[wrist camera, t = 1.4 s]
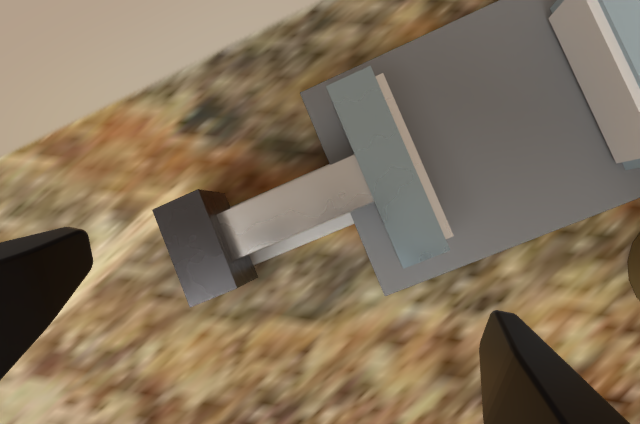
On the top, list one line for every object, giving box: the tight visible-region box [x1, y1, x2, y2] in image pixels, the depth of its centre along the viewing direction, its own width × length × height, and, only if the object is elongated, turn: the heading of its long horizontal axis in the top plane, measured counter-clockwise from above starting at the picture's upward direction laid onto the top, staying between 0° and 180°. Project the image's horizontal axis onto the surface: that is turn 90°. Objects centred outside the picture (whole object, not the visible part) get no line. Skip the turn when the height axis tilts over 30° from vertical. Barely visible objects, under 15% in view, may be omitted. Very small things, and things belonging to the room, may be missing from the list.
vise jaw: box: [153, 66, 454, 307], centre depth 20 cm, size 12×9×3 cm
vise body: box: [230, 0, 640, 296], centre depth 20 cm, size 25×12×4 cm, turn 113°
